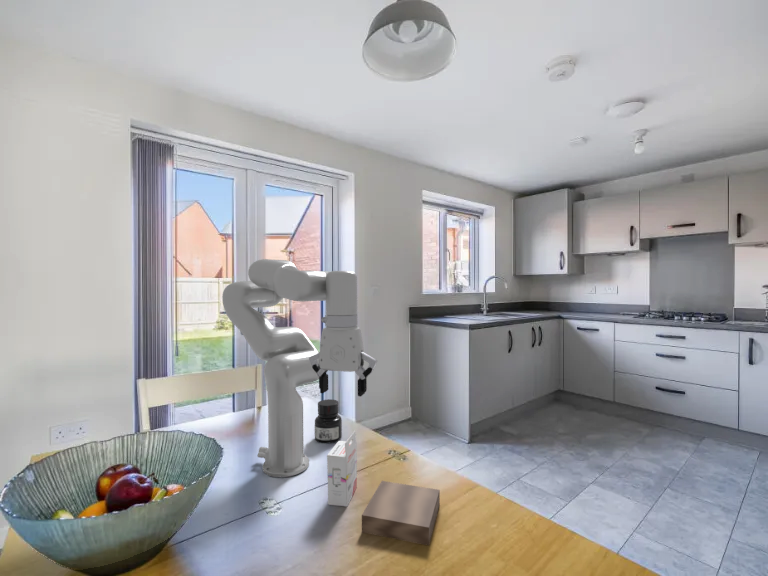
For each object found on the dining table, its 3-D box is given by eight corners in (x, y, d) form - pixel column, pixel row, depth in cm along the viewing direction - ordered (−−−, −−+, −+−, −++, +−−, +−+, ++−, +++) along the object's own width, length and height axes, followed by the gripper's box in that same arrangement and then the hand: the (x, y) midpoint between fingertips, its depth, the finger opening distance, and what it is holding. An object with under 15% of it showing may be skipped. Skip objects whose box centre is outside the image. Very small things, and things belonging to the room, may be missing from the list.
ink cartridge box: (338, 485, 95) (338, 428, 95) (357, 487, 94) (357, 429, 94) (326, 505, 87) (326, 442, 87) (347, 507, 86) (346, 443, 86)
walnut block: (361, 534, 77) (361, 515, 77) (381, 497, 91) (381, 480, 91) (429, 547, 73) (428, 527, 73) (439, 506, 87) (439, 489, 87)
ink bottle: (309, 442, 121) (308, 405, 121) (320, 432, 130) (319, 397, 130) (337, 445, 119) (337, 407, 119) (346, 434, 128) (346, 399, 127)
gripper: (301, 323, 89) (302, 395, 89) (370, 324, 84) (371, 400, 84) (316, 320, 96) (317, 386, 96) (380, 321, 91) (381, 391, 91)
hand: (342, 393), depth 90 cm, fingers open, 9 cm apart
